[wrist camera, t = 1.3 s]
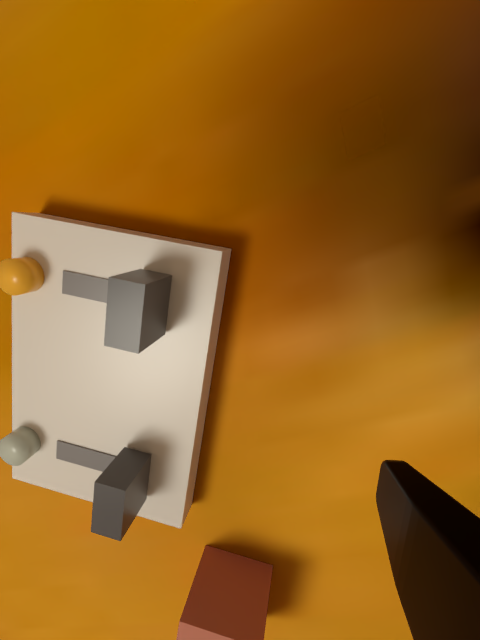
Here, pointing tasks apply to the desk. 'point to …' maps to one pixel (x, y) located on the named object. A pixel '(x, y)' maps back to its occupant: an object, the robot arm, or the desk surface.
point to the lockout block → (227, 598)
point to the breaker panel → (108, 359)
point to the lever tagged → (136, 309)
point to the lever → (120, 493)
